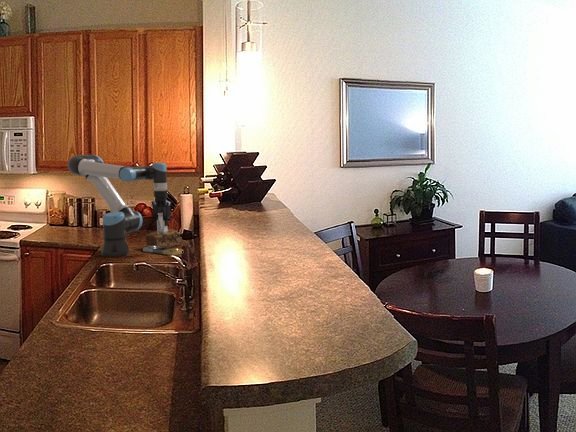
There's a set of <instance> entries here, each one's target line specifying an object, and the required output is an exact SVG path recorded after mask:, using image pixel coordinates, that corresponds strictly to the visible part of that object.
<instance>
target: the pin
mask: <svg viewBox="0 0 576 432" xmlns="http://www.w3.org/2000/svg"><path fill="white" fill-rule="evenodd" d="M163 220H164V218H163V213H162V212H161V213H158V223H159V235H166V232H163Z"/></svg>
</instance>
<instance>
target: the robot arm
mask: <svg viewBox="0 0 576 432" xmlns="http://www.w3.org/2000/svg"><path fill="white" fill-rule="evenodd" d="M67 169H68V171H69V173H71V174H72V175H74V176H82V177H83V176H84V177H85V179H86V181H88V182H91V184H93V185H94V188H96V190H97V191H98V193H99V194H100V196H101V197H102V199H103V200H104V202H105V203H106V204H107V206H108V207H109V209H110V210H111V212H107V213H105V214H104V215H103V216H102V231H103V232H102V234H103V244H102V247H101V251H100V254H101V256H102V257H108V258H111V257H113V258H115V257H123V256H128V255H129V254H130V248H129V244H128V242H127V241H126V234H128V233H129V234H130V233H133V232H134V233H135V232H137V231H138V230H139V229H141V227H142V225H143V221H144V220H143V217H142V214H141V213H140V212H139V211H137V210H134V209H133V208H132V206H130V205H127V204H126V203H125V200H124V199H123V198H122V196H121V195H120V194H119V193H118V191H117V190H116V187H114V185H113V184H112V183H111V181H110V179H115V180H120V181H121V180H122V181H123V182H127V183H128V182H129V183H130V182H136V181H145V180H146V181H147V180H148V181H149V180H150V181H151V180H152V183H153V190H154V191H153V197H154V200H152V201H151V202H150V204H151V206H152V218H153V219H155V220H156V230H157V231H156V232H158V231H159V223H158V213H163V218H164V220H163V232H167V231H168V229H169V228H168V225H169V220H171V217H172V216H171V215H172V214H171V205H172V202H171V201H169V200H168V199H167V198H168V197H169V195H168V194H169V193H168V180H167V179H168V177H167V176H168V175H167V173H168V172H167V171H168V169H167V165H166V163H165V162H153V163H152V166H148V165H147V166H145V165H144V166H142V165H139V166H134V167H133V166H132V167H130V166H125V165H117V164H111V163H104V160H103V159H102V158H101V157H100V156H98V155H96V154H80V155H79V154H76V155H72V156H71V157H70V158H69V159H68V162H67ZM109 178H110V179H109Z"/></svg>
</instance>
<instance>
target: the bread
mask: <svg viewBox="0 0 576 432" xmlns="http://www.w3.org/2000/svg"><path fill="white" fill-rule="evenodd" d="M145 237H146V240H145V242H146V247H147V246H149V245H156V246H159V247H167V248H172V247H177V246H179V245H180V244H181V239H182V238H181V233H180V232H178V230H176V229H174V228H168V231H167V232H166V235H159V231H154V232H151V233H147V235H146V236H145Z"/></svg>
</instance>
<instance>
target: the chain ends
mask: <svg viewBox="0 0 576 432" xmlns="http://www.w3.org/2000/svg"><path fill="white" fill-rule="evenodd" d="M142 251H143V252H144V253H145V252H146V253H150V254H151V253H152V254H160V255H167V256H172V255H174V256H177V255H182V254H183V253H182V251H183V252H184V249H181V248H177V247H159V246H156V245H149V246H147V245H146V247H143V248H142Z"/></svg>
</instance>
